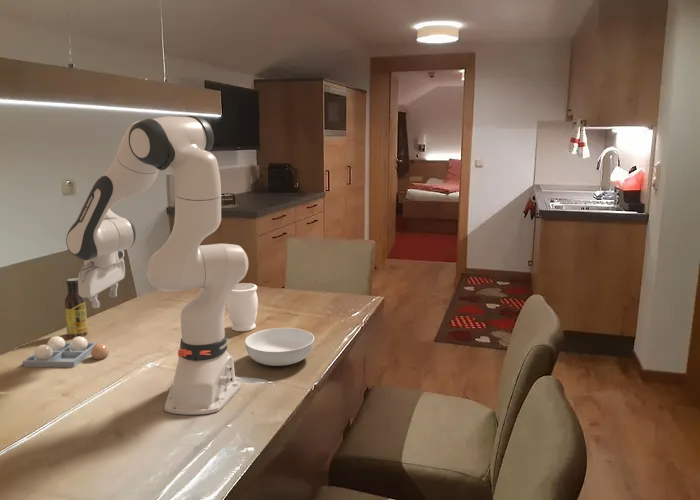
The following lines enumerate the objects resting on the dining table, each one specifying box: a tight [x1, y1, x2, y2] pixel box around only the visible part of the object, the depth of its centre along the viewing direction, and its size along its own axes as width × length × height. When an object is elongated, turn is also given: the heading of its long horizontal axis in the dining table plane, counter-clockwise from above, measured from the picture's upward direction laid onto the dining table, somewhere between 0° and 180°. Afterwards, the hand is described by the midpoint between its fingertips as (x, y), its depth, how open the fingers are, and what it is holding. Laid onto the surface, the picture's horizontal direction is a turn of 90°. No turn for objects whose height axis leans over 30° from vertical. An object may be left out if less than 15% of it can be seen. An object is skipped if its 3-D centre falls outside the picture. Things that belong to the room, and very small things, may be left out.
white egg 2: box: [46, 335, 66, 351], centre depth 177 cm, size 5×5×5 cm
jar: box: [226, 282, 259, 332], centre depth 198 cm, size 11×10×15 cm
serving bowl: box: [244, 327, 315, 367], centre depth 172 cm, size 21×21×7 cm
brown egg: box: [90, 342, 110, 361], centre depth 172 cm, size 5×5×5 cm
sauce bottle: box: [64, 277, 89, 339], centre depth 190 cm, size 7×6×20 cm
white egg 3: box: [70, 336, 88, 351], centre depth 176 cm, size 5×5×5 cm
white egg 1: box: [33, 344, 53, 360], centre depth 170 cm, size 5×5×5 cm
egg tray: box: [22, 341, 99, 368], centre depth 173 cm, size 15×15×2 cm
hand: (105, 302), depth 172 cm, fingers open, 8 cm apart
